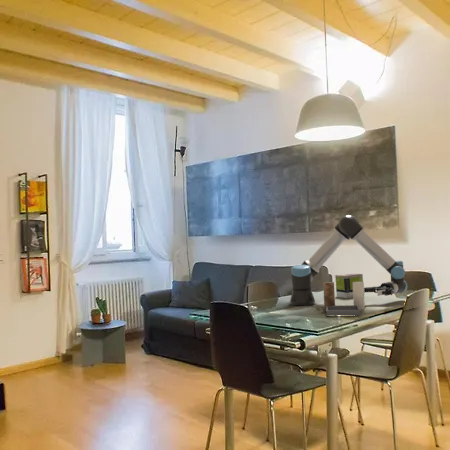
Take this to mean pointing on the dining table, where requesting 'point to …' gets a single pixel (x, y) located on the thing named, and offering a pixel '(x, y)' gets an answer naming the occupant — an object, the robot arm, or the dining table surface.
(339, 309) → the tray
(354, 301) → the cream pillar
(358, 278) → the tea box
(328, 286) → the walnut pillar
